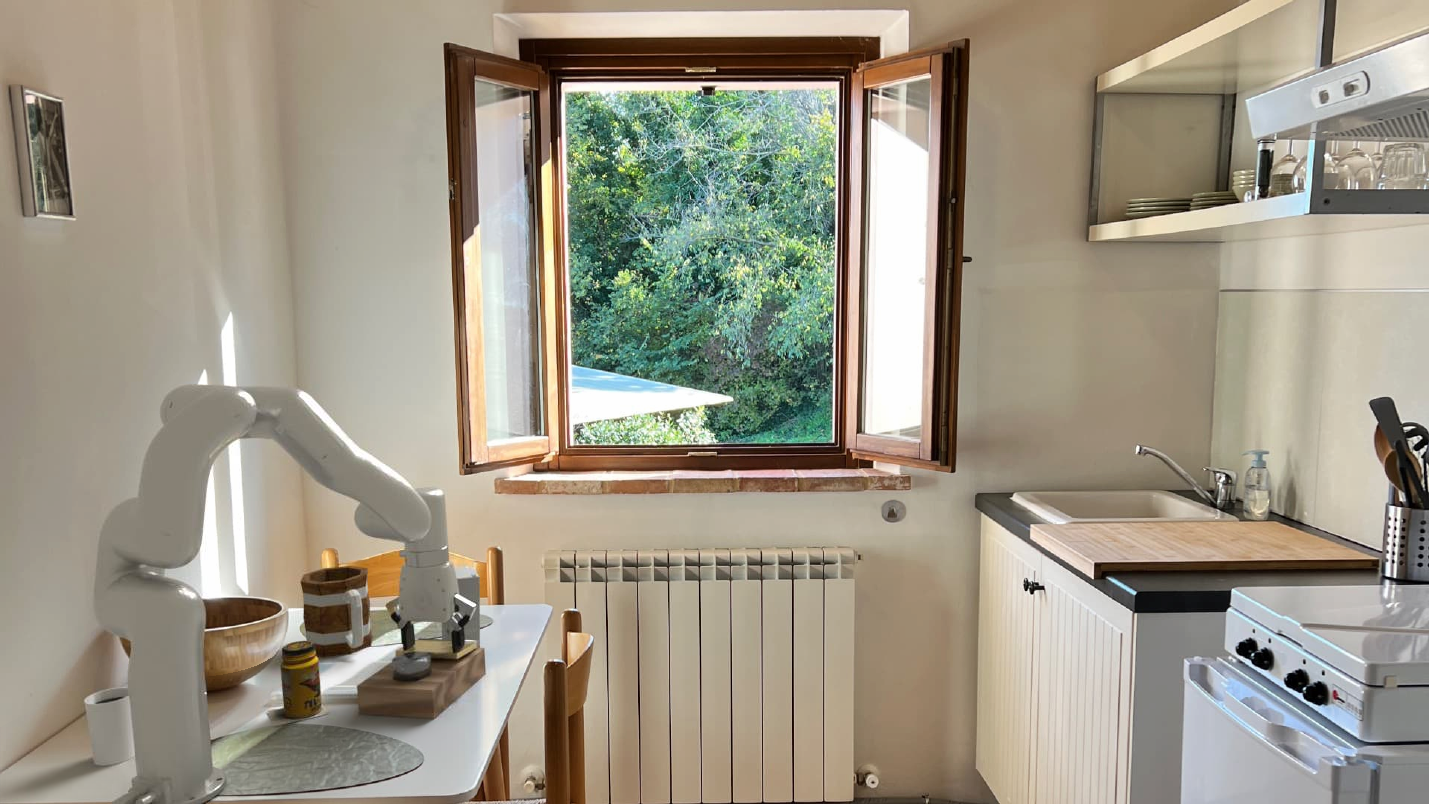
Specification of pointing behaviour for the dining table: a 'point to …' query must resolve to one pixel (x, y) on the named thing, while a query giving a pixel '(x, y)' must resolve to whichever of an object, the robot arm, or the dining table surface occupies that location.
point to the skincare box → (471, 592)
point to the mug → (337, 610)
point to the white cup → (110, 726)
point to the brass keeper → (440, 648)
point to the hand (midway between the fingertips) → (433, 648)
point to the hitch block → (421, 688)
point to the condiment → (299, 684)
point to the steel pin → (411, 666)
